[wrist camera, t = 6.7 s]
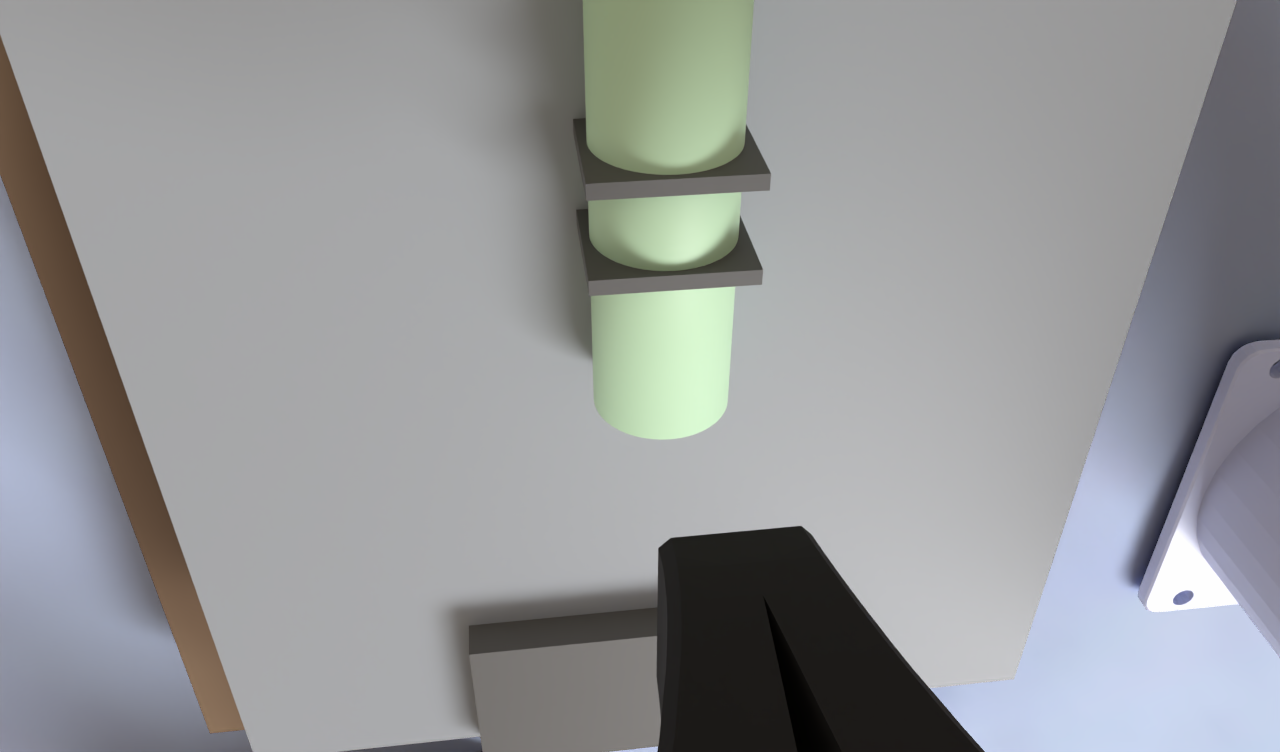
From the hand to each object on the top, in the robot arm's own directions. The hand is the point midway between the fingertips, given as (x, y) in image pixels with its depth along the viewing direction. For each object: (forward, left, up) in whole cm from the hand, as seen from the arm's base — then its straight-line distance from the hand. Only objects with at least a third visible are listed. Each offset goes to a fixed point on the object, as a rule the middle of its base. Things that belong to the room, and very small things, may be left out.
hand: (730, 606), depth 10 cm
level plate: (0, 0, -7) cm, 7 cm away
